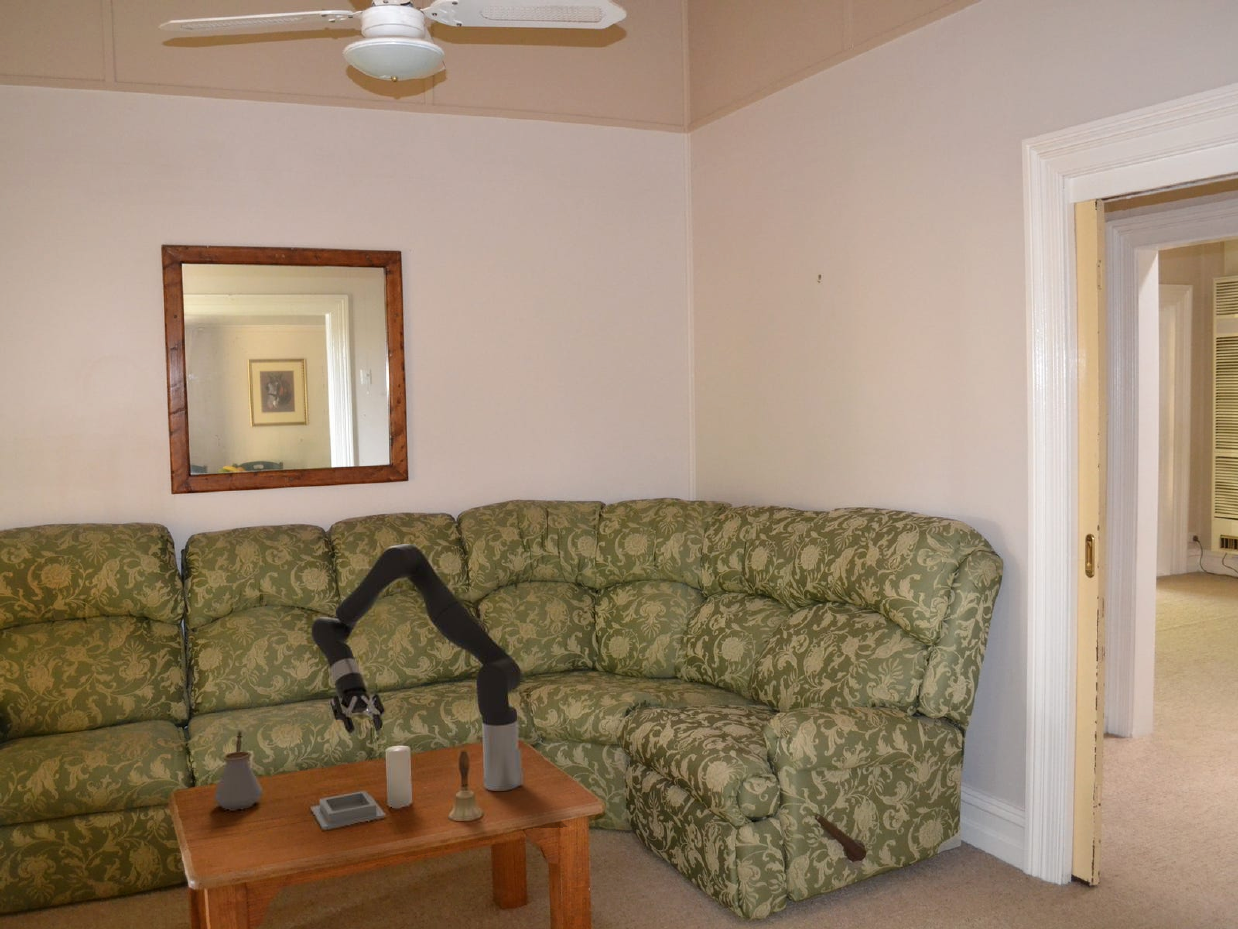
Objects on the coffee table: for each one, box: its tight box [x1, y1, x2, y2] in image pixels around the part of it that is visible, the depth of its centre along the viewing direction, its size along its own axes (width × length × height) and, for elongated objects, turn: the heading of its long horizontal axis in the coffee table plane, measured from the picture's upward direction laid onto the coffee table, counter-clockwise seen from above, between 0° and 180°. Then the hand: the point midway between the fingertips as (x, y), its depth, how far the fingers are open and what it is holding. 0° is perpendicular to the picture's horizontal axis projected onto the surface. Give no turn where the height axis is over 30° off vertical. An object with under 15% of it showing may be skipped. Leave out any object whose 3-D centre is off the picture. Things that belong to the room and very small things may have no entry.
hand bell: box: [448, 749, 484, 822], centre depth 256 cm, size 8×8×16 cm
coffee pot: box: [214, 730, 263, 811], centre depth 273 cm, size 21×12×15 cm, turn 16°
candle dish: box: [310, 790, 387, 831], centre depth 260 cm, size 15×15×3 cm
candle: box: [385, 745, 413, 809], centre depth 265 cm, size 6×6×14 cm
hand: (365, 730), depth 280 cm, fingers open, 8 cm apart
